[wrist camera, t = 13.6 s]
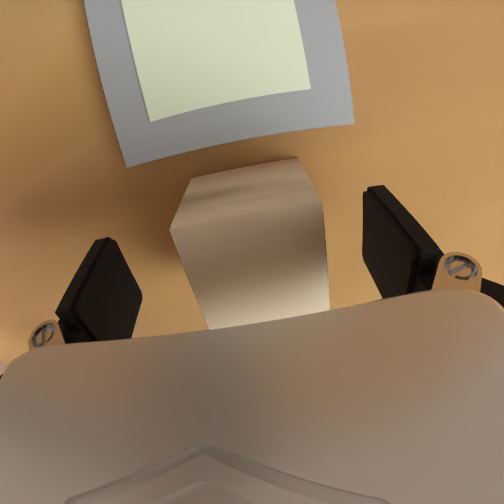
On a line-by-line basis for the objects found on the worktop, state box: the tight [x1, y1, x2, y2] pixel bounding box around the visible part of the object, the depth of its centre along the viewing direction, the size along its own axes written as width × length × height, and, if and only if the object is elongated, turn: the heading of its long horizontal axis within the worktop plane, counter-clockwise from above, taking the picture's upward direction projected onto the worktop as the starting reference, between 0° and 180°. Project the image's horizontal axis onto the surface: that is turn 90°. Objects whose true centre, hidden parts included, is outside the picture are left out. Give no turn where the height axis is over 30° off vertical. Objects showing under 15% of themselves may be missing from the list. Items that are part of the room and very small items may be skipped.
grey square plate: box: [84, 0, 354, 168], centre depth 10 cm, size 10×10×1 cm
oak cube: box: [169, 157, 330, 330], centre depth 13 cm, size 5×5×5 cm
